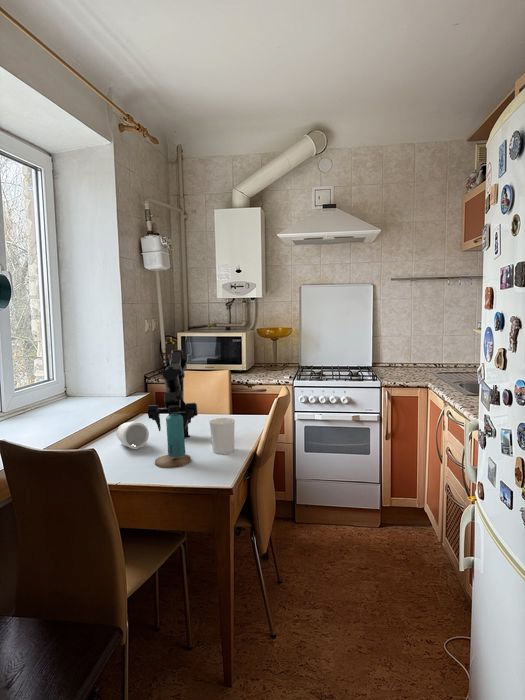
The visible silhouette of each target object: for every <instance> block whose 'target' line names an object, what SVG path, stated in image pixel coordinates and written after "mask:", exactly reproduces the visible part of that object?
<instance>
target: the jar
mask: <svg viewBox="0 0 525 700" xmlns="http://www.w3.org/2000/svg"><path fill="white" fill-rule="evenodd" d="M149 436H150V432H149V429H148V427H147V426H146V425H145V424H144V423H142V422H138V421H128V422H123V423H122V424H121V423H120V425H119V426H118V428H117V431H116V437H117V440H119V442H120V443H121V444H122V445H123V446H125V447H128V448H129V449H134V450H136V449H141V448H142V447H144V446H145V445H146V443H147V442H148V440H149V438H150V437H149ZM132 444H134V445H136V447H134V446H131V445H132Z"/></svg>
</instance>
